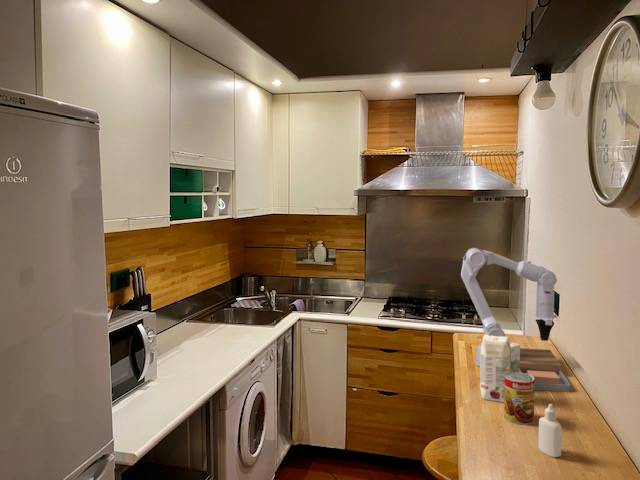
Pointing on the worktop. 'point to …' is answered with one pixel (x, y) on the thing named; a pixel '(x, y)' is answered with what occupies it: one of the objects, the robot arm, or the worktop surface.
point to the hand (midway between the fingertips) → (544, 340)
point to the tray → (562, 385)
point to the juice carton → (494, 366)
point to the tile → (544, 377)
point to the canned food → (519, 398)
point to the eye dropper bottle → (550, 433)
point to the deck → (538, 361)
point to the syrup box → (515, 357)
